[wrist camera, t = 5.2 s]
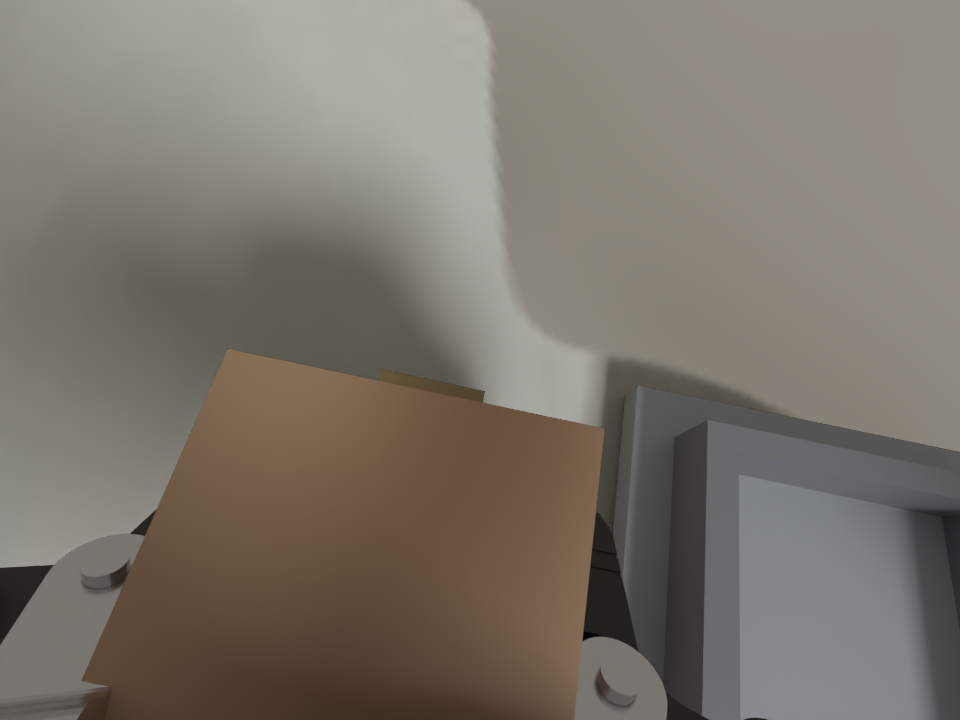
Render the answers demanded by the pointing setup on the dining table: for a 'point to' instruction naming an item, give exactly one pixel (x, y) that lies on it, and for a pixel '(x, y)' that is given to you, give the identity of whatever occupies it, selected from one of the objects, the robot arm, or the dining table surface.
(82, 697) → the robot arm
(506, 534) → the walnut block
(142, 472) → the dining table surface
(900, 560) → the grey socket stand
